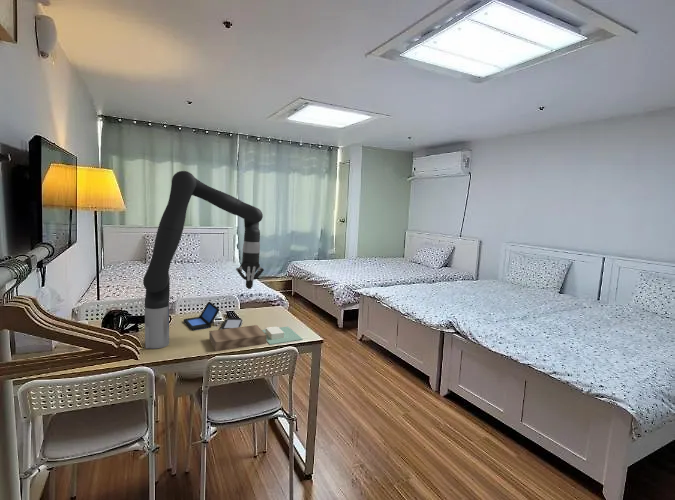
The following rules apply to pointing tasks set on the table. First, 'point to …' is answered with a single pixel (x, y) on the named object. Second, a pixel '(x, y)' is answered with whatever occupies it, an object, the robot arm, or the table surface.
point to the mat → (288, 336)
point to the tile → (274, 332)
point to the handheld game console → (203, 318)
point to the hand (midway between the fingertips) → (249, 288)
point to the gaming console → (232, 323)
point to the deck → (237, 337)
